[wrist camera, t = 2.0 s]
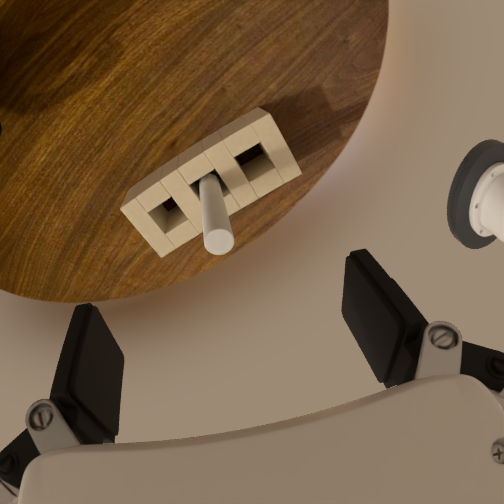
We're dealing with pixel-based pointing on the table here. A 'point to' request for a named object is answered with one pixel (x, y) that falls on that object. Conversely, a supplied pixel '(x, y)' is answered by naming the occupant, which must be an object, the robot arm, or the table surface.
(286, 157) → the pen stand
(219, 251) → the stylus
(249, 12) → the table surface
